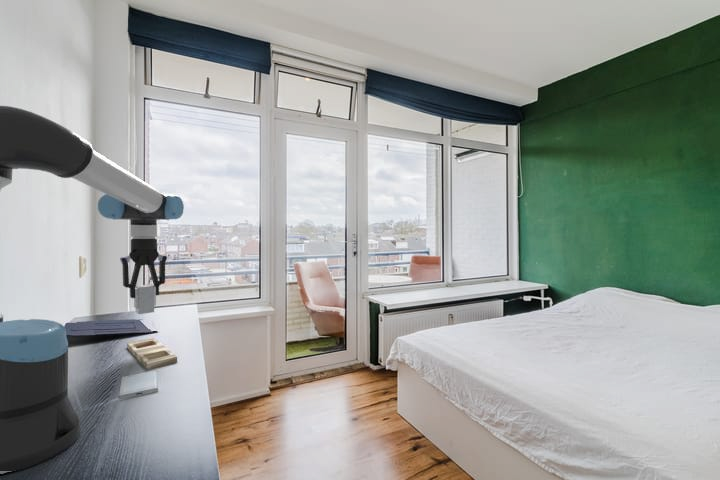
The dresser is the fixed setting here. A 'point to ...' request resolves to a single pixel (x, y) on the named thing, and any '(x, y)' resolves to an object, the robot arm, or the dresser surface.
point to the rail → (151, 353)
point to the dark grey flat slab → (105, 327)
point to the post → (145, 299)
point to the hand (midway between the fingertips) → (145, 306)
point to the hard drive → (138, 384)
